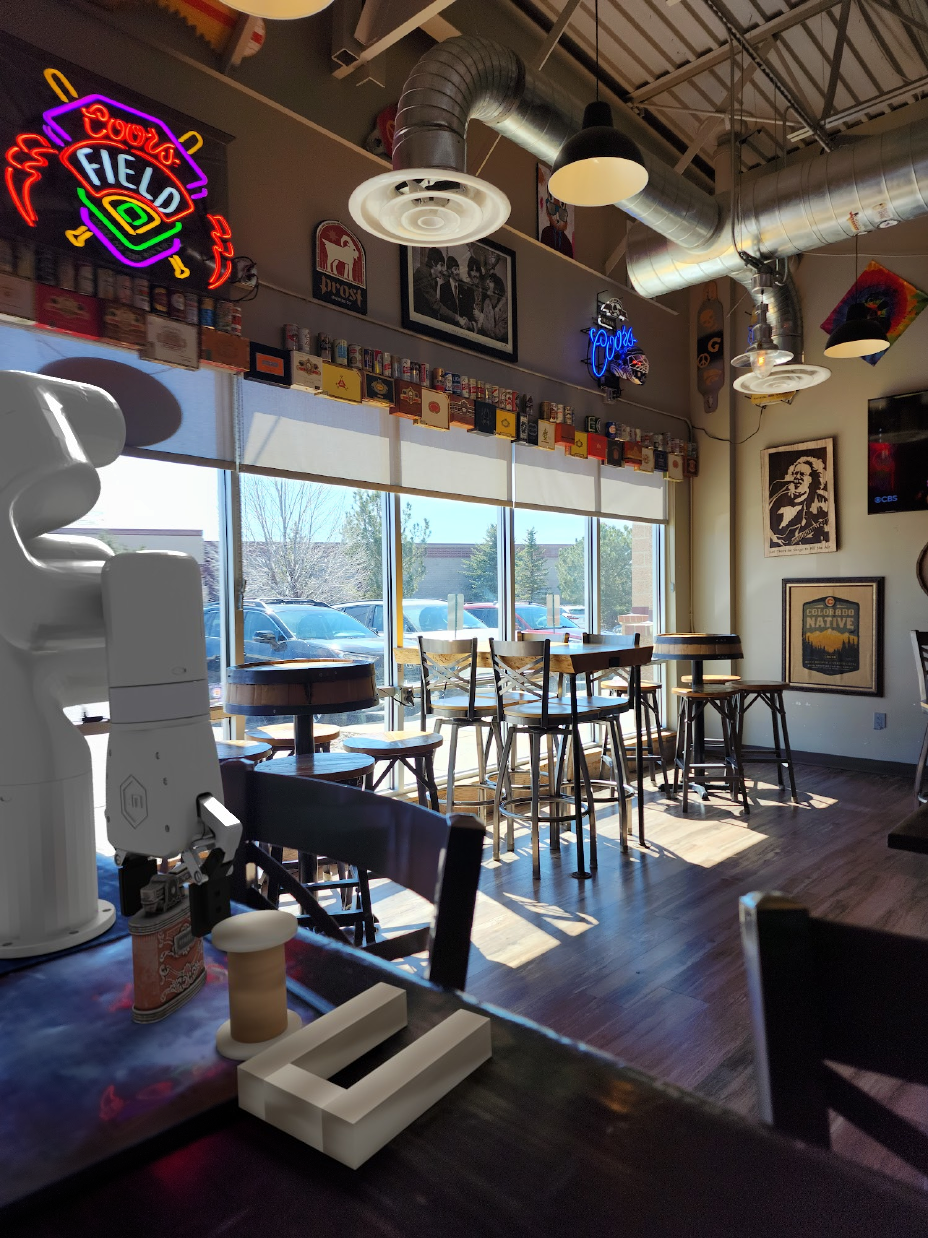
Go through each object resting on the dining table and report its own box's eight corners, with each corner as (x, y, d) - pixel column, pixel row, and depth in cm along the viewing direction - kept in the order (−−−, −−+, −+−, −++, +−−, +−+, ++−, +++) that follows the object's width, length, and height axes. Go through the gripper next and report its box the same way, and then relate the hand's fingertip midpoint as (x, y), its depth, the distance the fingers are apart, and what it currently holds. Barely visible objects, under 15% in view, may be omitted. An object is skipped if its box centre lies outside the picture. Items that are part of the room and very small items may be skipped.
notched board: (238, 1107, 48) (237, 1066, 48) (382, 1015, 59) (380, 982, 59) (355, 1170, 42) (353, 1124, 42) (491, 1055, 53) (490, 1018, 53)
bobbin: (198, 1043, 56) (193, 932, 56) (266, 1007, 61) (261, 904, 61) (252, 1070, 52) (247, 950, 52) (319, 1029, 57) (314, 920, 57)
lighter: (161, 1025, 59) (155, 892, 59) (121, 1022, 60) (115, 890, 59) (216, 975, 67) (211, 858, 67) (180, 973, 67) (175, 857, 67)
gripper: (60, 712, 65) (73, 919, 65) (182, 712, 55) (198, 959, 54) (144, 701, 71) (156, 891, 71) (268, 700, 61) (283, 922, 60)
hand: (174, 921), depth 62 cm, fingers open, 9 cm apart
